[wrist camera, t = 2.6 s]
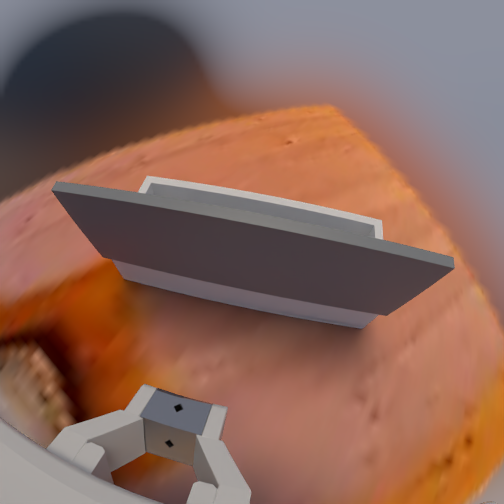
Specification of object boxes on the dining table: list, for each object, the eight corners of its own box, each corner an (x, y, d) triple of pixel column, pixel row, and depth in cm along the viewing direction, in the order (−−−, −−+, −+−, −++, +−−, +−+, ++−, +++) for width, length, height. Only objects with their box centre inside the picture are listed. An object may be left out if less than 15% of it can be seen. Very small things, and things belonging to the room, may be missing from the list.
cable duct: (124, 278, 34) (107, 252, 28) (155, 207, 39) (147, 175, 34) (362, 328, 32) (385, 309, 27) (364, 248, 38) (381, 220, 33)
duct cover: (105, 250, 28) (102, 257, 28) (56, 181, 18) (51, 190, 18) (386, 307, 27) (386, 315, 26) (453, 257, 17) (454, 268, 16)
